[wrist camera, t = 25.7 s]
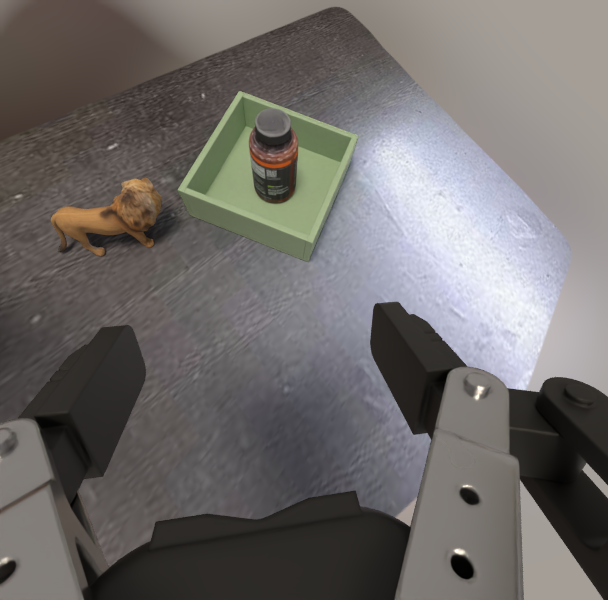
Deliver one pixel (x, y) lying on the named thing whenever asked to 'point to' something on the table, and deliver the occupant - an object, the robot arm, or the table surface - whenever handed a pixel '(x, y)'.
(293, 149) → the supplement bottle
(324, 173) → the desk bin
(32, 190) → the table surface
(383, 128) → the table surface
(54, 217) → the lion figurine
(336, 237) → the table surface
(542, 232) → the table surface
